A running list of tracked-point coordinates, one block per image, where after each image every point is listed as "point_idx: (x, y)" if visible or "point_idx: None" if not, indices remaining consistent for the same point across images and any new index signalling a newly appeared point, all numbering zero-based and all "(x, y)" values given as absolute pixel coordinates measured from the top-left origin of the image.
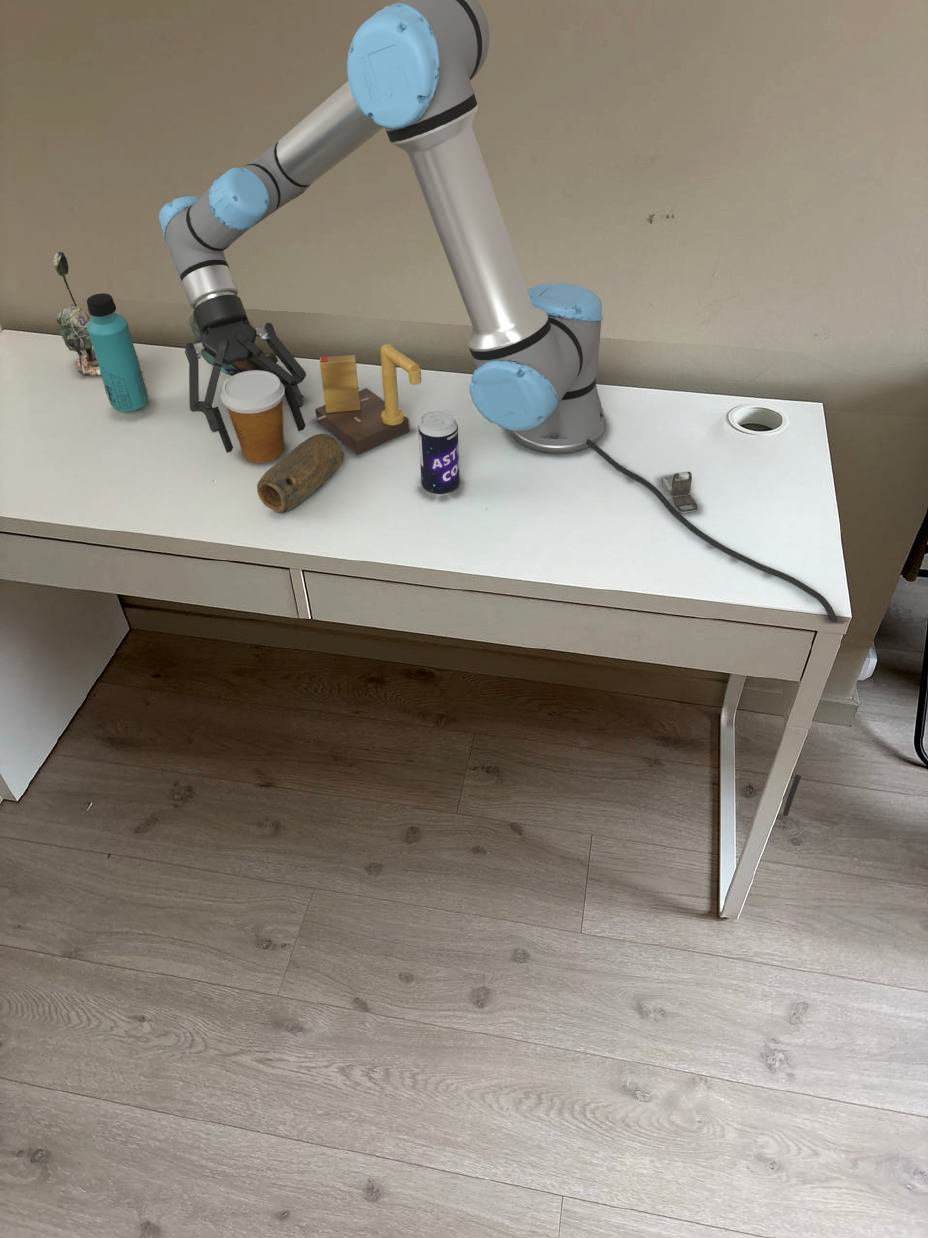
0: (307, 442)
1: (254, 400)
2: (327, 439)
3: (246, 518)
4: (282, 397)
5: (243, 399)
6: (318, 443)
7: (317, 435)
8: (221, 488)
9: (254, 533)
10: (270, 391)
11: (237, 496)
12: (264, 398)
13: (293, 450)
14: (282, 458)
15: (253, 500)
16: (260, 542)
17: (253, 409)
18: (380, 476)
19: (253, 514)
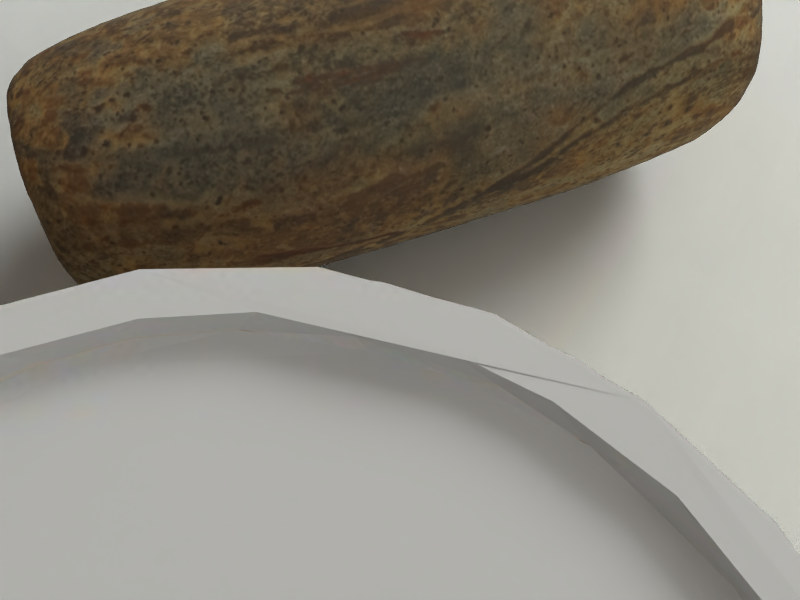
0: (235, 57)
1: (525, 337)
2: (77, 41)
3: (779, 181)
4: None
5: (711, 521)
6: (179, 9)
7: (91, 117)
8: (795, 526)
9: (792, 67)
10: (39, 459)
11: (740, 378)
12: (327, 269)
13: (384, 65)
14: (504, 64)
15: (675, 281)
16: (794, 4)
17: (565, 353)
18: (28, 5)
19: (731, 183)
